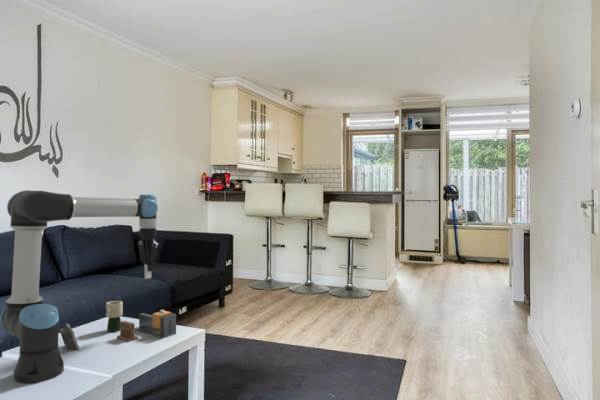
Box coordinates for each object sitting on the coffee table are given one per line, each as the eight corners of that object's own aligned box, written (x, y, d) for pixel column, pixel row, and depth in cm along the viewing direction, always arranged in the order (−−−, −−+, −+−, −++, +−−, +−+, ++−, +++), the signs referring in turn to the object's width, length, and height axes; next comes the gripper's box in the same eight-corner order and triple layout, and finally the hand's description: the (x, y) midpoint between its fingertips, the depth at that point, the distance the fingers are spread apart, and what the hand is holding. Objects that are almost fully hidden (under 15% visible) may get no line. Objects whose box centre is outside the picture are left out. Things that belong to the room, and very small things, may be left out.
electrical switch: (79, 349, 174) (76, 327, 174) (65, 353, 171) (62, 331, 170) (74, 343, 182) (72, 322, 181) (61, 347, 178) (58, 325, 178)
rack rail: (163, 338, 189) (163, 317, 188) (134, 330, 199) (134, 311, 199) (176, 333, 194) (176, 314, 194) (147, 326, 205) (147, 307, 205)
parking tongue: (128, 341, 184) (128, 325, 183) (116, 338, 188) (116, 322, 188) (138, 338, 188) (138, 322, 188) (126, 335, 192) (126, 319, 192)
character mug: (112, 326, 205) (112, 299, 205) (127, 326, 204) (127, 299, 204) (100, 333, 194) (100, 305, 194) (116, 334, 193) (116, 305, 193)
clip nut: (160, 328, 190) (160, 312, 190) (152, 327, 193) (152, 311, 193) (171, 325, 196) (171, 309, 196) (163, 323, 198) (163, 307, 198)
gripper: (163, 227, 199) (163, 278, 199) (145, 226, 205) (145, 275, 206) (150, 228, 192) (150, 281, 192) (132, 227, 199) (132, 277, 199)
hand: (147, 278), depth 199 cm, fingers closed
